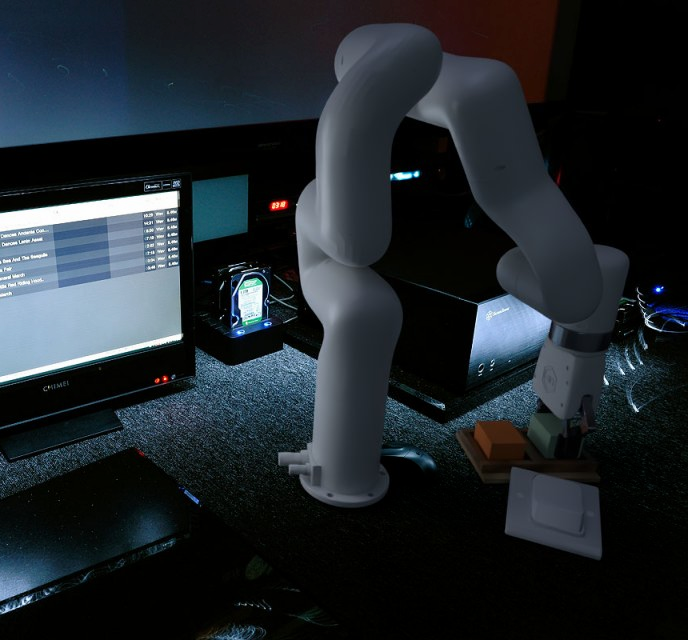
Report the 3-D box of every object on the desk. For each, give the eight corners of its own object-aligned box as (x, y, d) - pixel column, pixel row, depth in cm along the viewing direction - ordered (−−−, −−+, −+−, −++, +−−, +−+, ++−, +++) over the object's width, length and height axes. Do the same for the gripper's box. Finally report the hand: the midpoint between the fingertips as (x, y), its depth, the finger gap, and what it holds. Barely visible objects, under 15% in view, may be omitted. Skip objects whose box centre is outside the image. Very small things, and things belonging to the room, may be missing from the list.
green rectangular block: (545, 458, 96) (550, 435, 95) (526, 435, 102) (531, 413, 100) (579, 458, 96) (585, 434, 95) (559, 434, 102) (564, 412, 100)
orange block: (487, 466, 97) (491, 443, 95) (472, 442, 102) (476, 420, 101) (521, 466, 97) (526, 443, 95) (505, 442, 102) (509, 420, 101)
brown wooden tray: (483, 483, 94) (486, 470, 94) (455, 435, 105) (457, 423, 105) (599, 482, 94) (603, 469, 93) (558, 434, 105) (561, 422, 104)
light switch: (509, 514, 83) (515, 450, 93) (503, 537, 85) (510, 473, 95) (608, 541, 79) (603, 471, 89) (599, 564, 81) (595, 494, 91)
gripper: (525, 310, 100) (505, 413, 107) (584, 364, 84) (556, 480, 91) (575, 309, 99) (552, 412, 107) (644, 363, 84) (611, 480, 91)
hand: (554, 443), depth 99 cm, fingers closed on green rectangular block, 5 cm apart
